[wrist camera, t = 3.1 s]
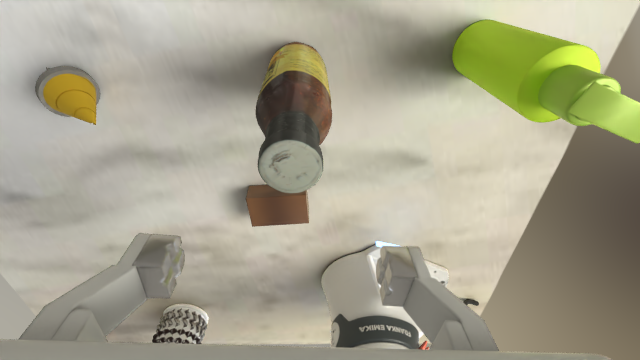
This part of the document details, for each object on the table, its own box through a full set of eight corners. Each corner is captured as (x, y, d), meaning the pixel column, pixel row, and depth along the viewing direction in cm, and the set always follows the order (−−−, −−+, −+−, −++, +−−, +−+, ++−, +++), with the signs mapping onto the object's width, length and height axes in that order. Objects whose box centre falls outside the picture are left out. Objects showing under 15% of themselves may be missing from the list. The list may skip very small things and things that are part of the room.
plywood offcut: (306, 182, 44) (306, 194, 41) (308, 209, 46) (308, 223, 44) (249, 185, 44) (245, 198, 41) (255, 212, 46) (252, 226, 44)
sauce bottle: (267, 39, 33) (227, 109, 17) (326, 40, 33) (344, 110, 17) (272, 99, 37) (242, 205, 20) (324, 100, 37) (338, 204, 21)
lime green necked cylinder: (465, 6, 32) (635, 46, 15) (518, 32, 33) (724, 94, 17) (433, 61, 35) (547, 145, 18) (483, 83, 36) (629, 179, 20)
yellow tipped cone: (63, 45, 33) (102, 88, 29) (97, 84, 38) (135, 126, 34) (11, 71, 32) (46, 121, 28) (54, 108, 36) (88, 156, 32)
